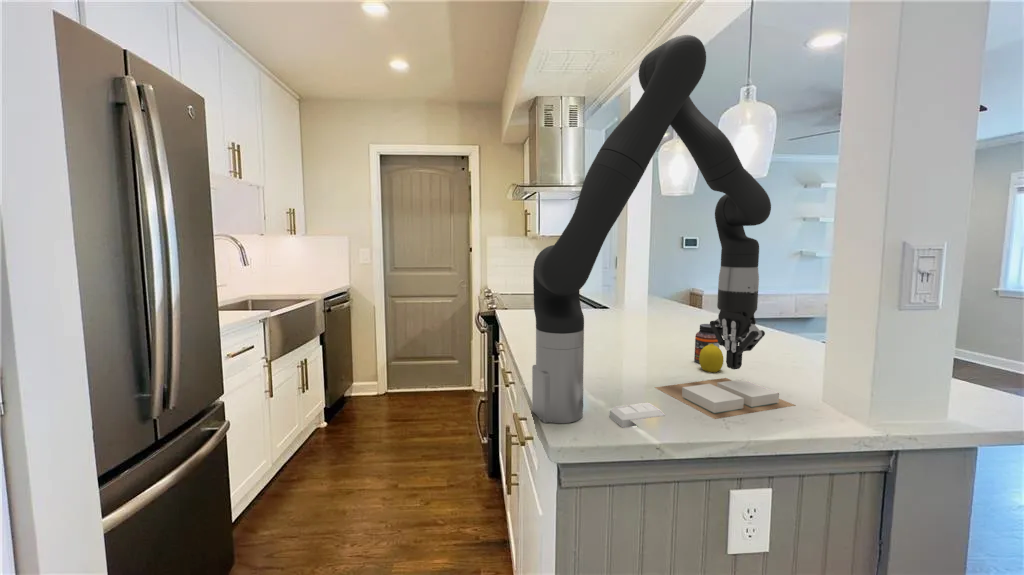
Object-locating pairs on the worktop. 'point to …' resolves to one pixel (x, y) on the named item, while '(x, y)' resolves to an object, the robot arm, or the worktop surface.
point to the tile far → (750, 392)
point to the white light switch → (633, 413)
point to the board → (676, 393)
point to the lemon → (711, 358)
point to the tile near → (712, 398)
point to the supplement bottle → (704, 340)
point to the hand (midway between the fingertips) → (733, 368)
